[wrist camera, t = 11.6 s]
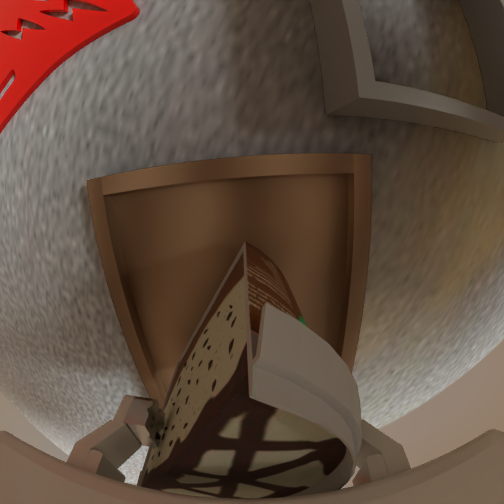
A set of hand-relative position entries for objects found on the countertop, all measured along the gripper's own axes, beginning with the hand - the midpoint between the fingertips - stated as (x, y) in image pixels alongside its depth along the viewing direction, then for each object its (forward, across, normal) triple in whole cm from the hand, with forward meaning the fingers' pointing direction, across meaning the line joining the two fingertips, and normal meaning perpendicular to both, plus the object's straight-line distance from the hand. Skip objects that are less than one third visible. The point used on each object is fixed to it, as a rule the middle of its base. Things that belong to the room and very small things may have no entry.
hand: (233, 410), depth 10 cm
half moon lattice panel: (+6, -1, 0) cm, 6 cm away
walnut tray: (+8, 0, 0) cm, 8 cm away
